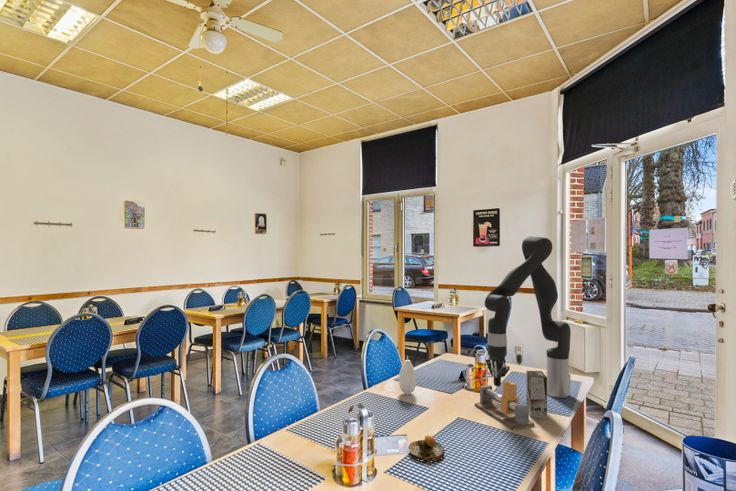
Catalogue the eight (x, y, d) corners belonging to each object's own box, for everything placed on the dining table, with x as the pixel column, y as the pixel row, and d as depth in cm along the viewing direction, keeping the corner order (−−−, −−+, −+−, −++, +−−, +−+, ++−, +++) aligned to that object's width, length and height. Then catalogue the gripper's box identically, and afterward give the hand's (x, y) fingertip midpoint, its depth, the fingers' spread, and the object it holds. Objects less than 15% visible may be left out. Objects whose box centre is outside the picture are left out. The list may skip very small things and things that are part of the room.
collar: (500, 411, 160) (501, 383, 160) (513, 409, 162) (513, 381, 162) (506, 414, 158) (506, 385, 158) (518, 412, 160) (518, 383, 160)
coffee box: (547, 418, 160) (547, 377, 160) (530, 417, 162) (530, 376, 162) (542, 409, 169) (542, 370, 169) (526, 408, 171) (526, 369, 171)
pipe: (479, 402, 174) (479, 386, 174) (489, 401, 176) (489, 384, 176) (517, 425, 152) (517, 407, 152) (528, 423, 154) (528, 405, 154)
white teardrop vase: (416, 397, 183) (416, 357, 183) (399, 397, 183) (399, 357, 183) (415, 391, 191) (415, 352, 191) (398, 390, 191) (398, 352, 191)
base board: (474, 405, 174) (474, 403, 174) (494, 402, 177) (494, 400, 177) (512, 429, 151) (512, 426, 151) (534, 425, 154) (534, 422, 154)
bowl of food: (420, 441, 143) (420, 420, 143) (451, 452, 135) (451, 429, 135) (401, 455, 133) (401, 432, 133) (432, 467, 126) (432, 443, 126)
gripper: (515, 346, 162) (515, 390, 163) (494, 339, 175) (494, 379, 175) (500, 348, 160) (500, 392, 160) (479, 340, 172) (479, 381, 172)
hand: (497, 385), depth 167 cm, fingers closed
